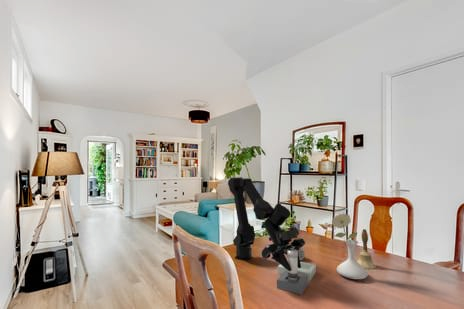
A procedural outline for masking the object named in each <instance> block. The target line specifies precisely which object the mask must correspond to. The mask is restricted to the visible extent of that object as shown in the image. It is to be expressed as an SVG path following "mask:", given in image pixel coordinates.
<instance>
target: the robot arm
mask: <svg viewBox="0 0 464 309" xmlns="http://www.w3.org/2000/svg"><path fill="white" fill-rule="evenodd" d="M227 185H228V189H229V192H230V193H231V194H232V195H233V198H234V204H235V210H236V216H237V217H236V218H237V222H238V224H237V225H238V226H237V229H236V236H234V238H233V240H232V242H233V246H235V248H236V253H235V255H236V256H234V258H235V259H237V260H241V261H245V262H247V261H248V260H250V259H251V258H252V257H253V254H252V250H253V249H252V248H251V247H252V245H254V244H255V243H254V242H255V239H256V233H255V228H254V225H251V224H250V222H249V218H248V212H247V205H246V200H245V195H244V193H246V195H247V197H248V199H249V200H250V202H251V203H252V205H253V213H254V215H255V217H256V219H257V220H264V221H262V222H261V226H260V228H261V229H265V230H266V233H267V234H268V236H269V238H268V241H269V242H272V244H271V243H270V244H267V245H266V246H265V247H264V248H263V249H262V251H261V256H262V258H263V260H266V259H270V258H271V260H274V261H275V262H277V263H278V264H279V265H280V264H281V265H282V266H283V267H285V268H286V269H287V270H288V271H291V267H290V265H289V263H288V261H287V259H288V258H286V257H287V256H285V252H284V250H288V249H296V250H298V251H299V249H300V248H303V247H304V246H305V245H306V241H305V239H304V238H302V237H298V236H299V234H300V231H299V230H298V228H297V226H295V227H291V228H290V229H289V230H285V229H282V228H281V226H282V225H284V224H285V222H286V221H287V220H288V219H289V217H290V216H291V211H290V210H289V209H288V208H287V207H285V206H284V205H282V204H281V203H276V204H275V206H274V207H273V206H272V205H271V203H269V202H268V201H267V200H265V199H263V197H262V196H261V193H259V191H258V190H257V188H256V186H255V185H254V183H253V180H252V179H251V178H247V177H246V178H243V177H241V176H239V177H230V178H229V179H228V181H227ZM271 255H272V256H271ZM297 261H298V268H299V269H300V268H301V264H300V262H301V260H300V259H299V253H298V257H297Z"/></svg>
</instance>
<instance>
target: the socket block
mask: <svg viewBox="0 0 464 309" xmlns="http://www.w3.org/2000/svg"><path fill="white" fill-rule="evenodd" d="M308 285H309V281H308V276H305V275H301V274H298V281H297V282H295V281H291V280H288V271H284V272H283V274H282V275H281V274H280V276H279V277H278V278H277V279H276V289H279V290H282V291H286V292H289V293H293V294H297V295H300V296H302V295H303V294H304V292H305V290H306V288H307V287H308Z"/></svg>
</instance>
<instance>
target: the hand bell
mask: <svg viewBox="0 0 464 309" xmlns="http://www.w3.org/2000/svg"><path fill="white" fill-rule="evenodd" d="M368 240H369V234H368V232H367V229H364V228H363V229H362V232H361V242H362V247H363V248H362V249H363V250H362V251H360V252H359V257H358V260H356V261H357V263H359V264H360V265H361V266H362V267H363V268H364V269H365V270H375V269H377V265H376V264H375V263H374V261H373V258H372V254H371V253H370V252H369V251H368Z"/></svg>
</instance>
